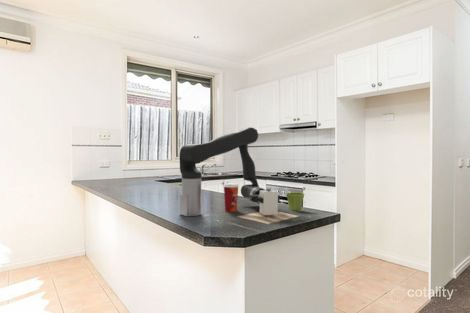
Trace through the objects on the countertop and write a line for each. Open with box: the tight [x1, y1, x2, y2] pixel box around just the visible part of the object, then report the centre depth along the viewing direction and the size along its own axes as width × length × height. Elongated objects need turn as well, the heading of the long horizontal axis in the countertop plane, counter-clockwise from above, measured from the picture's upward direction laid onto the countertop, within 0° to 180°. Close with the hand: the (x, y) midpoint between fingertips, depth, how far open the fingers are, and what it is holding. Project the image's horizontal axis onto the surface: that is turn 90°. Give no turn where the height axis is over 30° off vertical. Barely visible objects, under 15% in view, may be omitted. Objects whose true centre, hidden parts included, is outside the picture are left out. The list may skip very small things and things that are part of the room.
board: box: [236, 211, 299, 225], centre depth 128 cm, size 22×18×1 cm
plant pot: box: [285, 192, 305, 212], centre depth 145 cm, size 9×9×9 cm
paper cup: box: [223, 182, 240, 213], centre depth 141 cm, size 8×8×14 cm
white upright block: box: [259, 187, 279, 215], centre depth 128 cm, size 6×6×11 cm
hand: (270, 200), depth 126 cm, fingers closed on white upright block, 6 cm apart
